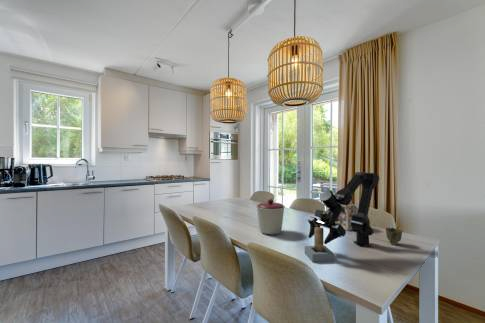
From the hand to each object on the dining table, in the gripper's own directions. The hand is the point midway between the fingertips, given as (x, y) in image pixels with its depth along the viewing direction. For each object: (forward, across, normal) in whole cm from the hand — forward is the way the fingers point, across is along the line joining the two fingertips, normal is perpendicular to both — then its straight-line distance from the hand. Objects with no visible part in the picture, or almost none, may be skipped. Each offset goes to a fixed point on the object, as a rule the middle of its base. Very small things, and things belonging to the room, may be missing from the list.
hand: (316, 240), depth 107 cm
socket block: (+5, 0, +7) cm, 8 cm away
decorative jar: (-32, -25, +44) cm, 60 cm away
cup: (-29, +8, +41) cm, 51 cm away
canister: (+3, -42, +9) cm, 43 cm away
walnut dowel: (+4, 0, +6) cm, 8 cm away
